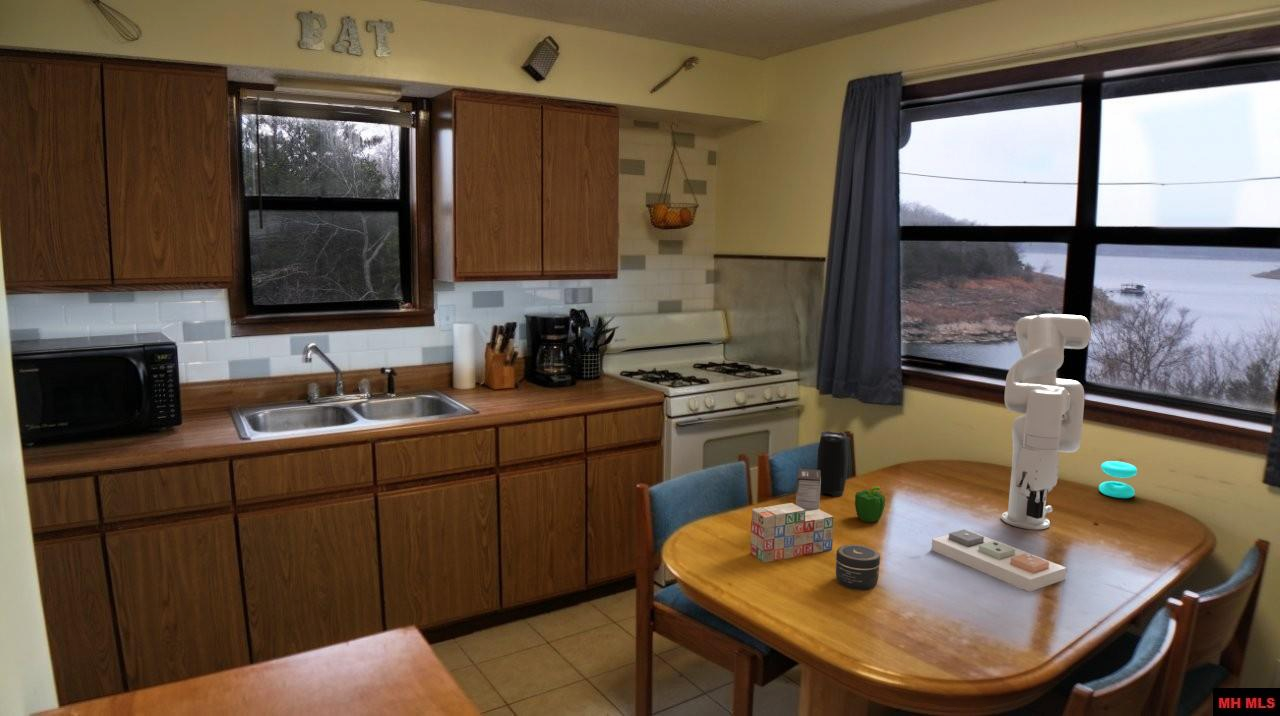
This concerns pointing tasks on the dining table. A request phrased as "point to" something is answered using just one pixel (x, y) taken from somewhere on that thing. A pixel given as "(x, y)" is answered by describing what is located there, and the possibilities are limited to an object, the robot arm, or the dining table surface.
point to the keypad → (999, 564)
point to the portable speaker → (832, 462)
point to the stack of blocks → (789, 532)
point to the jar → (857, 567)
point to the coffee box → (808, 489)
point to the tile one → (966, 538)
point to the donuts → (1116, 487)
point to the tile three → (1029, 563)
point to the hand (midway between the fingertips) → (1034, 516)
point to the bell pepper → (869, 504)
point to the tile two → (996, 550)
